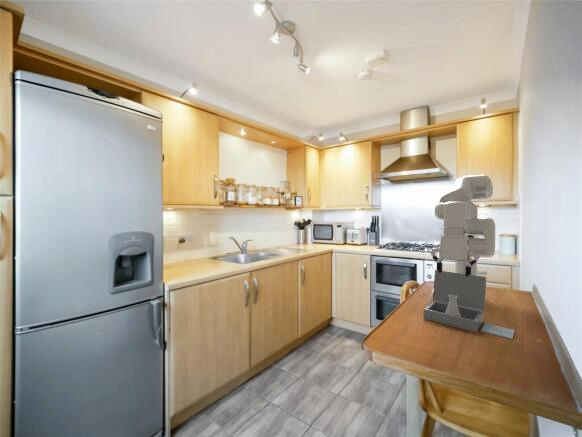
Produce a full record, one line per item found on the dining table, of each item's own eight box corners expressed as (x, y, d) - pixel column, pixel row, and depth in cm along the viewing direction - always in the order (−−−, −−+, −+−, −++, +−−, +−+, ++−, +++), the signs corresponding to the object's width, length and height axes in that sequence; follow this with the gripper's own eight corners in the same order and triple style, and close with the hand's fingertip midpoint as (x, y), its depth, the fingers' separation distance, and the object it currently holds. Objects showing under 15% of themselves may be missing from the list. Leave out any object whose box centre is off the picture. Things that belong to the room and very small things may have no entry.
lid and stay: (434, 301, 122) (434, 269, 122) (485, 312, 108) (486, 276, 108) (428, 306, 115) (428, 272, 115) (482, 318, 102) (482, 280, 102)
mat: (484, 324, 104) (484, 323, 104) (514, 331, 97) (514, 330, 97) (480, 331, 97) (480, 330, 97) (512, 339, 91) (512, 338, 91)
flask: (440, 320, 107) (440, 296, 107) (445, 315, 113) (445, 292, 112) (461, 325, 102) (461, 299, 102) (465, 320, 108) (465, 296, 108)
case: (434, 309, 119) (434, 299, 119) (483, 321, 107) (483, 309, 107) (423, 318, 109) (423, 307, 109) (476, 332, 96) (476, 319, 96)
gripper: (481, 233, 104) (481, 276, 104) (433, 231, 116) (433, 269, 116) (478, 233, 98) (477, 279, 98) (428, 231, 110) (427, 272, 110)
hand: (453, 274), depth 107 cm, fingers open, 9 cm apart
